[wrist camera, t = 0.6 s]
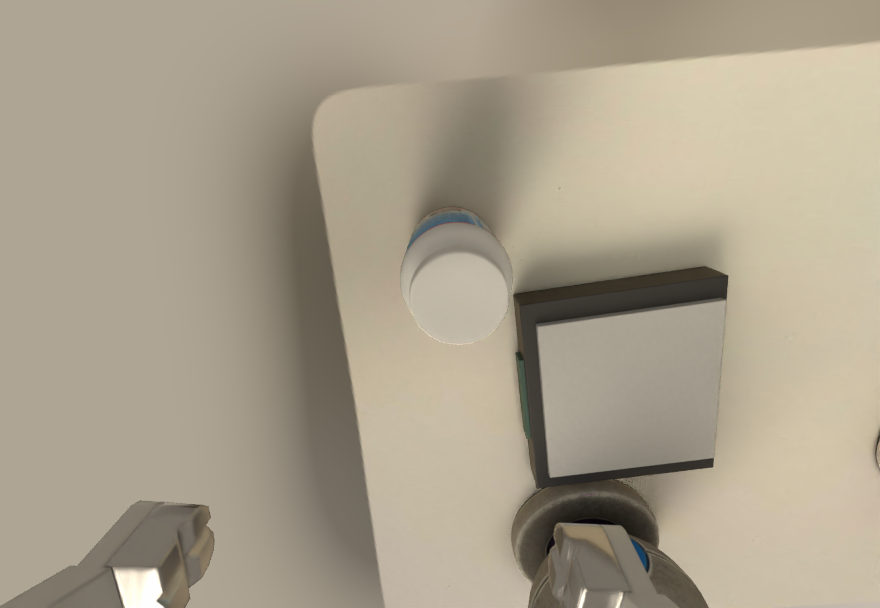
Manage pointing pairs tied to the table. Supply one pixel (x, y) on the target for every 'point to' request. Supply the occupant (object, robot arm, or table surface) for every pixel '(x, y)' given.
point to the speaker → (878, 453)
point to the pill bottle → (456, 277)
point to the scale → (621, 375)
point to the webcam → (599, 507)
